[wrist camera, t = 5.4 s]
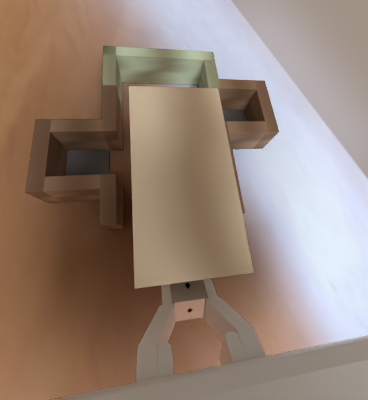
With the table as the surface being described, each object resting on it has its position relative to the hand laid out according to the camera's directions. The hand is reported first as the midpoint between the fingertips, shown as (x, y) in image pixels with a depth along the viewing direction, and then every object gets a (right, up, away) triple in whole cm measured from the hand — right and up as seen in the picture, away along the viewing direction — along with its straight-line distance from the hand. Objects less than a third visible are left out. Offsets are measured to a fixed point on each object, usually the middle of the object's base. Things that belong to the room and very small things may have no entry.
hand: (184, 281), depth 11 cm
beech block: (-1, +4, +6) cm, 7 cm away
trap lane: (-2, +11, +8) cm, 14 cm away
